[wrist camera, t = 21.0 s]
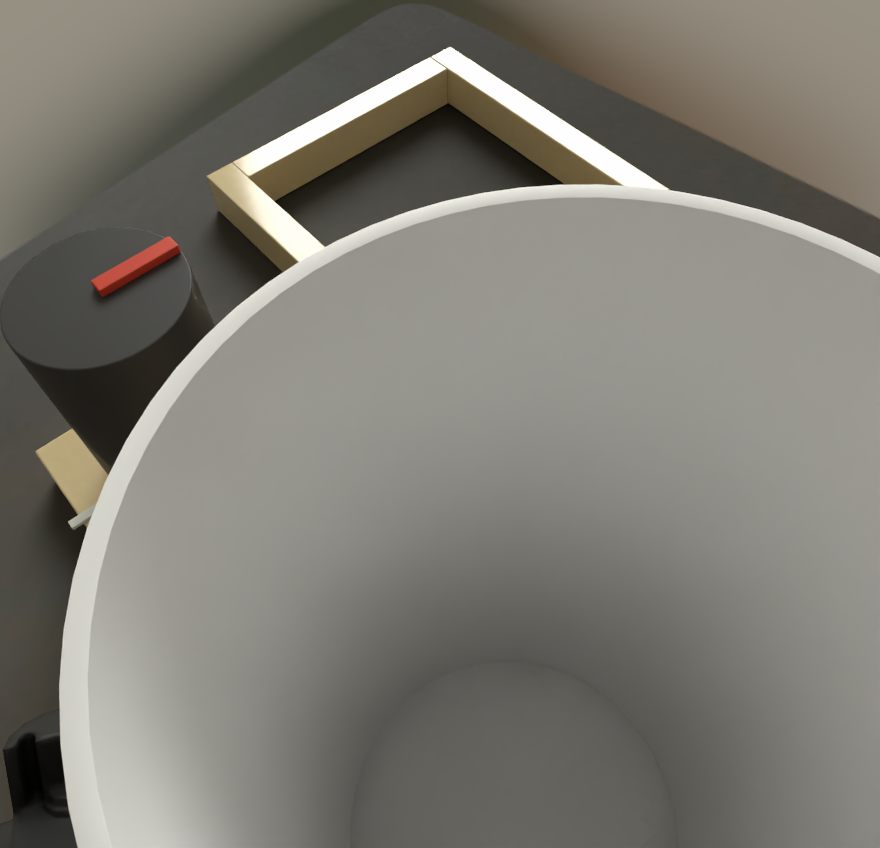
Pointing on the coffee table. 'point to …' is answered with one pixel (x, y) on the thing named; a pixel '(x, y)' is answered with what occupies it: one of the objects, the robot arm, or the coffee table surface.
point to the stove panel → (74, 474)
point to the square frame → (383, 114)
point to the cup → (499, 545)
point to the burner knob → (104, 327)
